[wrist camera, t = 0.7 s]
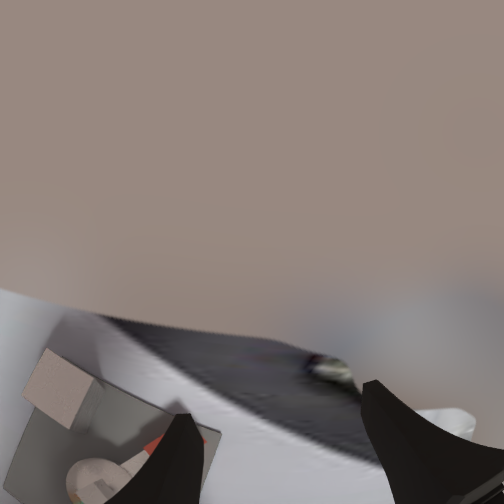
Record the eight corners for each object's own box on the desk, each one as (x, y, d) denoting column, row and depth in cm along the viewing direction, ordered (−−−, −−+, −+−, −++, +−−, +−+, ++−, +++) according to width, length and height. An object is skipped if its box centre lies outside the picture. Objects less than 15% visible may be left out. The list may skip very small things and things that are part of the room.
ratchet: (104, 529, 13) (91, 545, 9) (59, 474, 15) (37, 477, 11) (217, 456, 21) (230, 457, 17) (172, 405, 23) (173, 395, 19)
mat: (167, 574, 12) (167, 575, 12) (4, 487, 12) (2, 488, 11) (221, 434, 22) (222, 434, 22) (62, 357, 22) (62, 356, 22)
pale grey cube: (86, 433, 18) (69, 429, 15) (43, 406, 18) (21, 395, 15) (105, 391, 22) (93, 377, 18) (64, 365, 21) (46, 347, 18)
